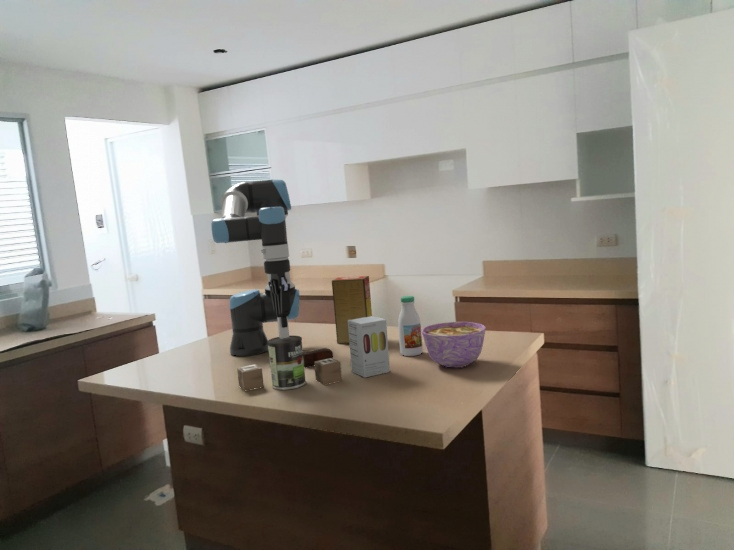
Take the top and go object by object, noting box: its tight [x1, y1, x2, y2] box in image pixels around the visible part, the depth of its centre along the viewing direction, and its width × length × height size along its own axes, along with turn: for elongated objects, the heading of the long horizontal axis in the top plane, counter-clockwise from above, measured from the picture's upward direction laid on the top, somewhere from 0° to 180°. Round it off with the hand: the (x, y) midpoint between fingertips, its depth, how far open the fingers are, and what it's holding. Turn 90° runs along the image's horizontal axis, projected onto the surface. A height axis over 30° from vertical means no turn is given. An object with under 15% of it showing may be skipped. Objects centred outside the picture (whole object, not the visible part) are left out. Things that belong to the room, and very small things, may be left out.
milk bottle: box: [397, 295, 424, 357], centre depth 191 cm, size 8×8×20 cm
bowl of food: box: [421, 321, 487, 368], centre depth 175 cm, size 20×20×12 cm
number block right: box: [314, 357, 343, 386], centre depth 169 cm, size 6×6×6 cm
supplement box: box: [348, 315, 391, 379], centre depth 174 cm, size 10×9×17 cm
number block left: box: [236, 363, 265, 392], centre depth 169 cm, size 6×6×6 cm
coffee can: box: [267, 335, 307, 391], centre depth 168 cm, size 10×10×14 cm
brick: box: [303, 347, 334, 368], centre depth 190 cm, size 11×4×5 cm, turn 122°
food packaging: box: [331, 275, 373, 344], centre depth 218 cm, size 13×9×25 cm
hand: (284, 337), depth 167 cm, fingers closed
